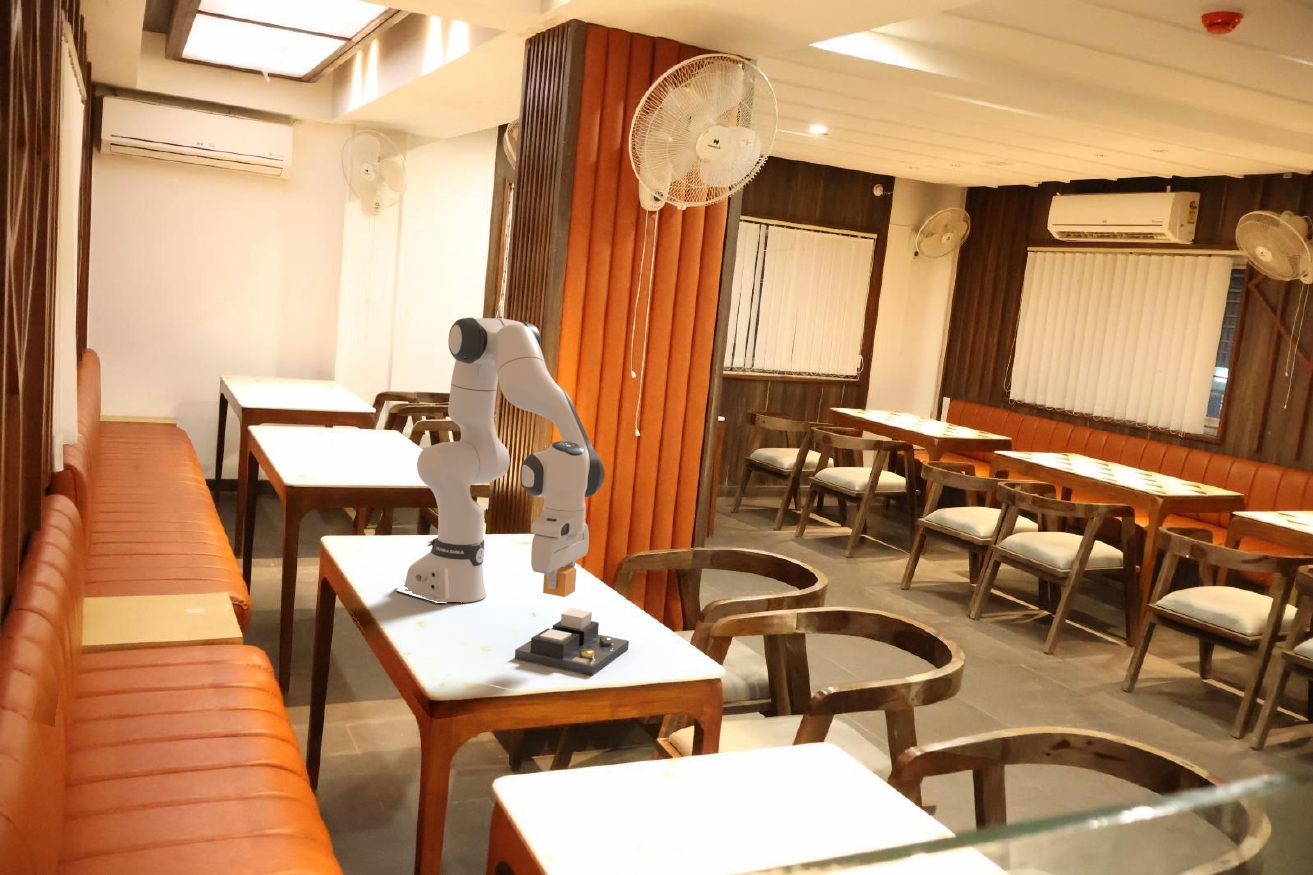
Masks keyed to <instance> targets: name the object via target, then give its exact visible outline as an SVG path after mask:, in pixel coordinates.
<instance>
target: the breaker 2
mask: <svg viewBox="0 0 1313 875" xmlns="http://www.w3.org/2000/svg"><path fill="white" fill-rule="evenodd" d="M592 613H593V612H592V611H587V610H583V609H578V608H573V607H572V608H569V609H567V610H566V611H564V612H562V613H561V618H560V621H561V625H562V626H567V627H571V628H576V629H581V630H582V629H584V628H586V627H587V626H589V625H590V624H591V621H592V617H593V615H592Z"/></svg>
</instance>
